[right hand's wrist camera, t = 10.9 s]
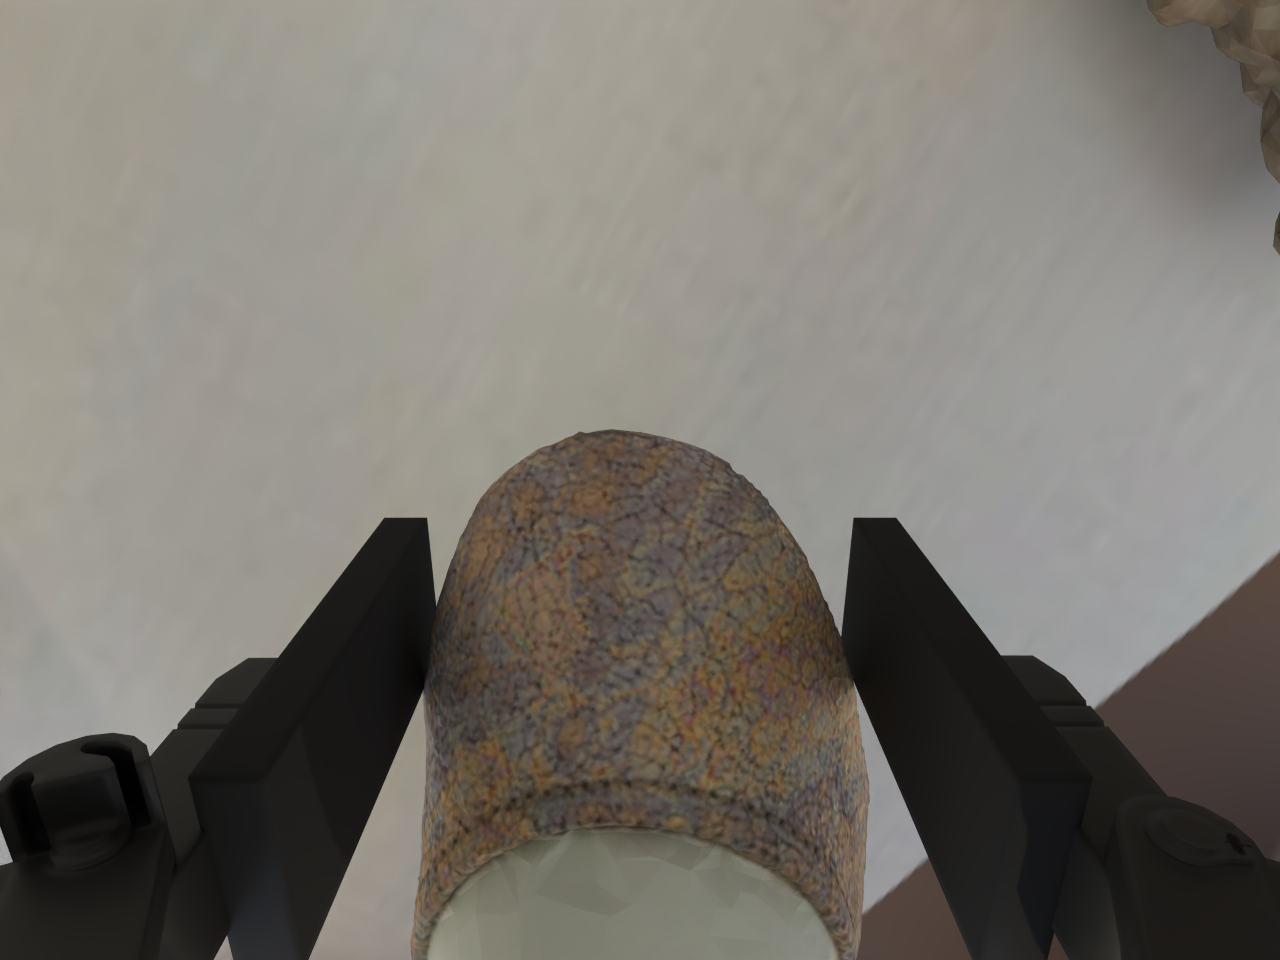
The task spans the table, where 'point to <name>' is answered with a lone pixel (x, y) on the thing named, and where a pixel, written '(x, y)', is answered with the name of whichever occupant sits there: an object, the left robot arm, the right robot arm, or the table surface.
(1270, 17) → the stone
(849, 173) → the table surface
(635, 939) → the ballet flat
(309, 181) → the table surface
